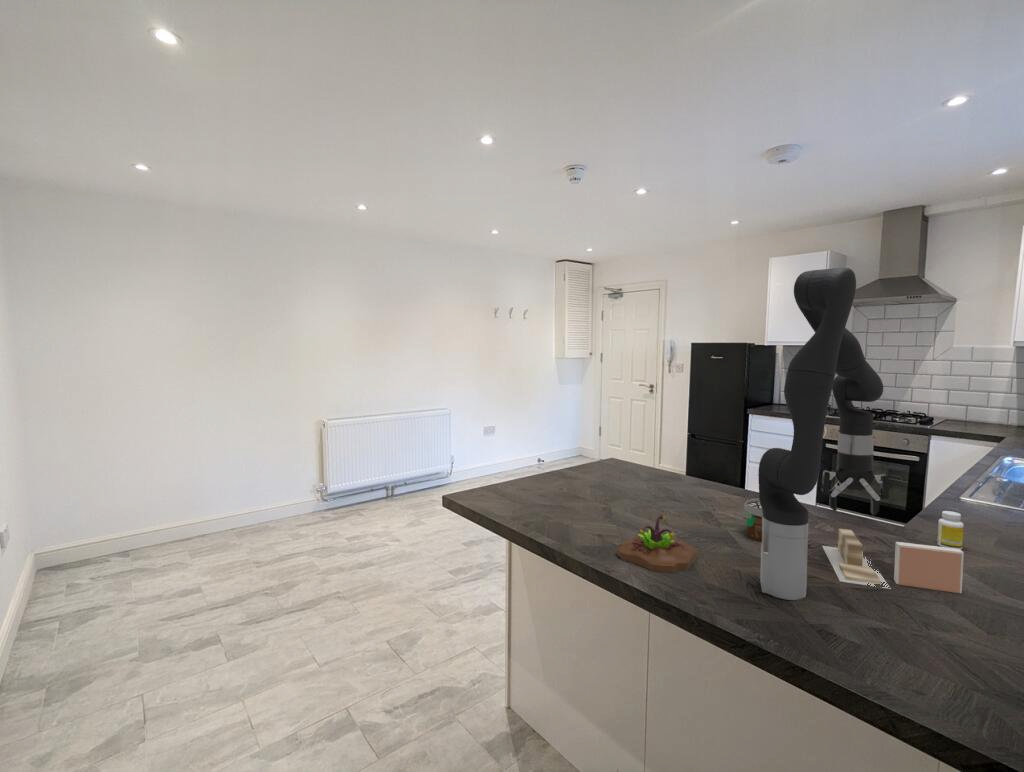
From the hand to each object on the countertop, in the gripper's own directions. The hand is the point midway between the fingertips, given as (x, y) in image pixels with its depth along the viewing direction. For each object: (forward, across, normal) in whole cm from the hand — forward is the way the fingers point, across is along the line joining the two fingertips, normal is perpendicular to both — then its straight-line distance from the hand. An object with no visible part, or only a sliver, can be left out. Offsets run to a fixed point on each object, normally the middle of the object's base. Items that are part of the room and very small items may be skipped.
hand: (853, 512), depth 126 cm
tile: (+14, +13, -10) cm, 21 cm away
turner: (+13, 0, -3) cm, 14 cm away
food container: (+14, -22, +12) cm, 29 cm away
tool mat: (+14, 0, -3) cm, 14 cm away
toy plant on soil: (+14, -48, -14) cm, 52 cm away
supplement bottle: (+14, +28, +22) cm, 38 cm away
